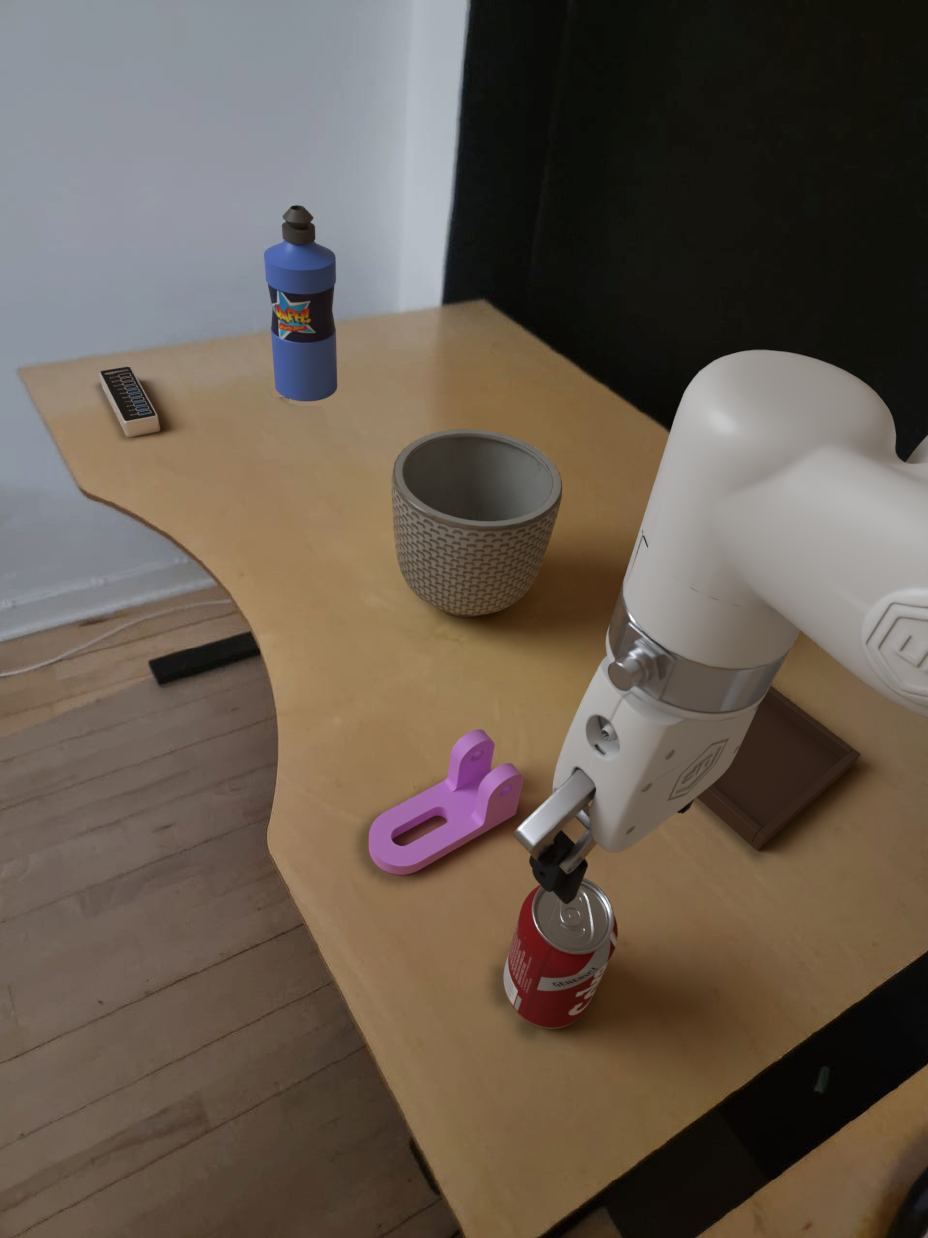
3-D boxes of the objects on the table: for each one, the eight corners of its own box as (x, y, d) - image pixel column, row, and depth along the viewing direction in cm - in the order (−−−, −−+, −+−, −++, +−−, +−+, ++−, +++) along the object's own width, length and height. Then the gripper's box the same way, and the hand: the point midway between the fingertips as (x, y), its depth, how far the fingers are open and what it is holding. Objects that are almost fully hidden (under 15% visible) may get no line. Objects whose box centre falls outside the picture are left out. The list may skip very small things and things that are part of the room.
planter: (432, 526, 104) (441, 410, 93) (562, 575, 99) (588, 460, 88) (358, 609, 92) (358, 488, 81) (502, 669, 88) (523, 550, 77)
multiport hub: (127, 437, 112) (123, 422, 110) (101, 385, 120) (98, 370, 119) (161, 430, 113) (158, 415, 112) (133, 379, 122) (130, 365, 120)
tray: (852, 766, 83) (861, 753, 81) (757, 851, 75) (764, 839, 73) (726, 668, 91) (732, 655, 89) (628, 736, 83) (632, 723, 81)
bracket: (479, 770, 78) (487, 723, 74) (515, 814, 75) (526, 768, 71) (356, 835, 72) (356, 789, 68) (390, 886, 69) (393, 841, 65)
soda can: (496, 1022, 62) (517, 951, 54) (507, 935, 67) (528, 857, 59) (586, 1041, 62) (622, 972, 54) (592, 952, 67) (625, 876, 59)
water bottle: (323, 407, 121) (316, 226, 104) (263, 393, 122) (246, 212, 105) (347, 377, 128) (345, 202, 110) (290, 364, 129) (279, 189, 112)
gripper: (625, 789, 31) (547, 977, 43) (873, 609, 40) (750, 807, 52) (494, 663, 35) (456, 868, 47) (746, 524, 44) (660, 727, 56)
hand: (610, 836), depth 50 cm, fingers open, 9 cm apart
